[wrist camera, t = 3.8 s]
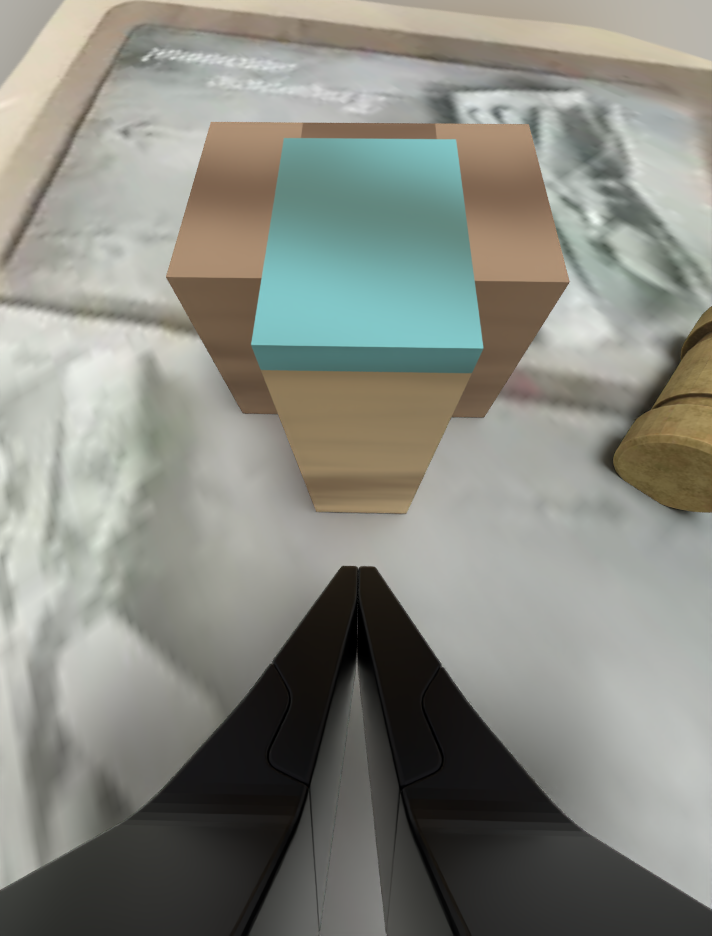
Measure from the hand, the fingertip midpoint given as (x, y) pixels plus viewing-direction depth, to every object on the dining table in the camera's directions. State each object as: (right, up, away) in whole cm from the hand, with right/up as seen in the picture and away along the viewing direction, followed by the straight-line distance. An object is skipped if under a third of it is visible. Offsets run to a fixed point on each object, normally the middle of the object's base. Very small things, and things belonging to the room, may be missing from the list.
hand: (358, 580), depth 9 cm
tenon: (0, +4, +9) cm, 9 cm away
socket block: (0, +9, +11) cm, 14 cm away
